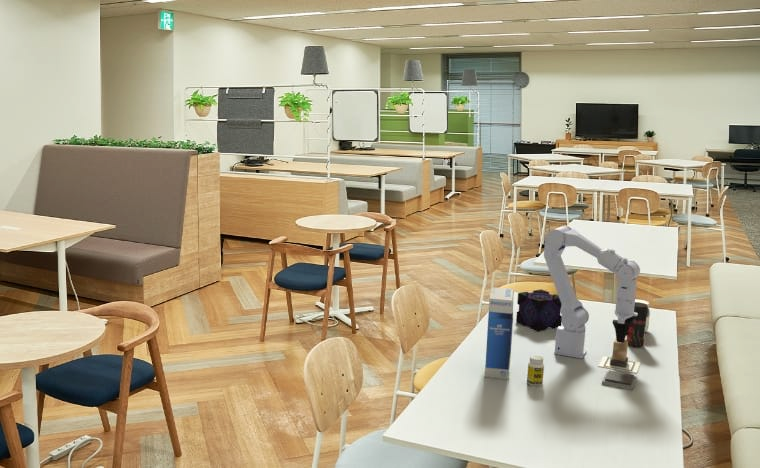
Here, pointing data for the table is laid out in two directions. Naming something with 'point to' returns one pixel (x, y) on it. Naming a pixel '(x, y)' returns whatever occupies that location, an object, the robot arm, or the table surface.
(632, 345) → the deodorant
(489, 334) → the string lights box
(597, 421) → the table surface
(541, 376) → the supplement bottle
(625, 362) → the stamp
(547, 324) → the energy cube
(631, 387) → the ink pad
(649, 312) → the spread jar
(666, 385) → the table surface
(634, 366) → the marked card
